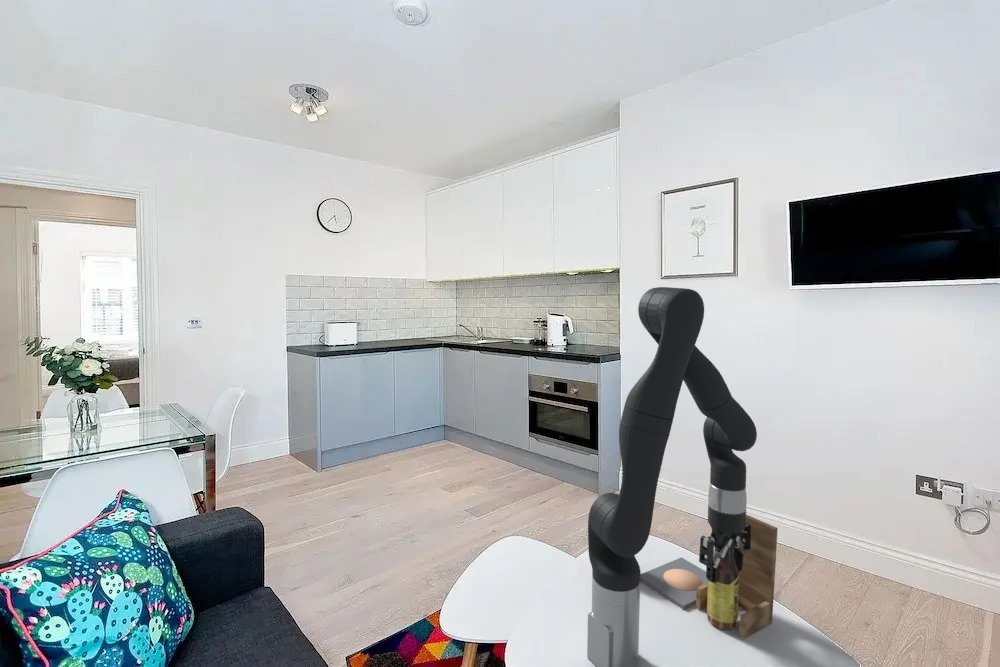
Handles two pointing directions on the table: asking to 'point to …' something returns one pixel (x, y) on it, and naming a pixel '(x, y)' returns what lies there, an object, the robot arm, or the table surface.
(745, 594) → the shelf nook
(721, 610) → the sauce bottle
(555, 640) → the table surface
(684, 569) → the mat
